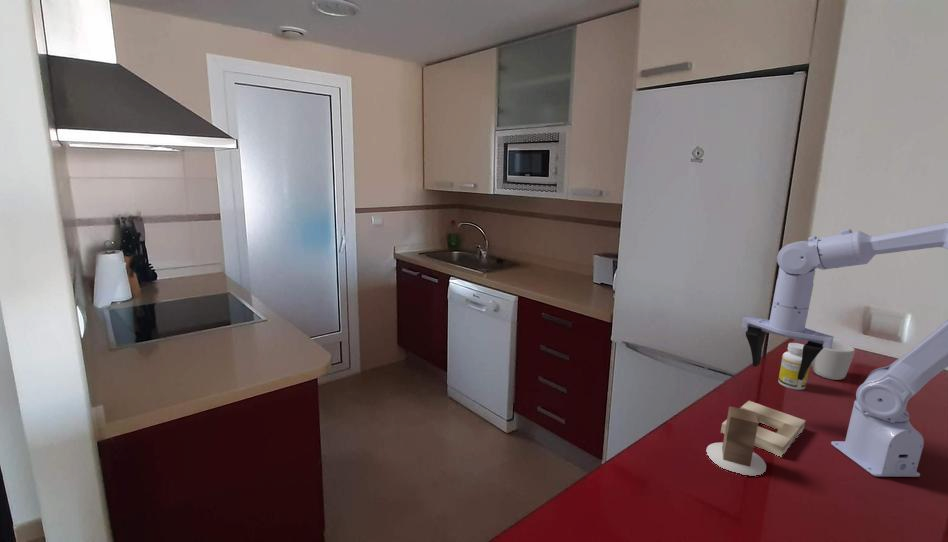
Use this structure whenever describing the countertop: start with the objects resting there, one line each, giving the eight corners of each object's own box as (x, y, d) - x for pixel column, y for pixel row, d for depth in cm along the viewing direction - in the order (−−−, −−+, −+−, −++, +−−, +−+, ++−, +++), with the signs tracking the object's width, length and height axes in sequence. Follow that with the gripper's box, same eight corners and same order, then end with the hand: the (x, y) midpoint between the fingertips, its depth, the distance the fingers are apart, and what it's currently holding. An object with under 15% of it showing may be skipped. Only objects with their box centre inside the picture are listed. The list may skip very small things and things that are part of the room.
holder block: (803, 429, 91) (805, 420, 90) (781, 457, 81) (783, 447, 81) (747, 409, 98) (748, 400, 97) (720, 432, 89) (722, 423, 88)
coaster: (778, 476, 76) (778, 474, 76) (724, 476, 76) (724, 474, 76) (745, 444, 85) (745, 442, 85) (696, 444, 85) (696, 442, 85)
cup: (802, 377, 114) (808, 347, 112) (791, 365, 122) (796, 336, 120) (854, 385, 111) (861, 353, 109) (839, 371, 119) (846, 341, 117)
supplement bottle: (796, 380, 112) (804, 342, 110) (810, 391, 107) (818, 351, 105) (773, 379, 113) (780, 340, 111) (785, 389, 108) (793, 349, 105)
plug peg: (748, 453, 82) (755, 412, 80) (750, 466, 78) (758, 423, 76) (722, 447, 83) (729, 406, 81) (723, 459, 80) (730, 416, 78)
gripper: (842, 310, 86) (827, 378, 89) (755, 292, 96) (744, 354, 99) (834, 317, 81) (818, 389, 84) (743, 298, 92) (732, 363, 95)
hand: (777, 371), depth 92 cm, fingers open, 7 cm apart
